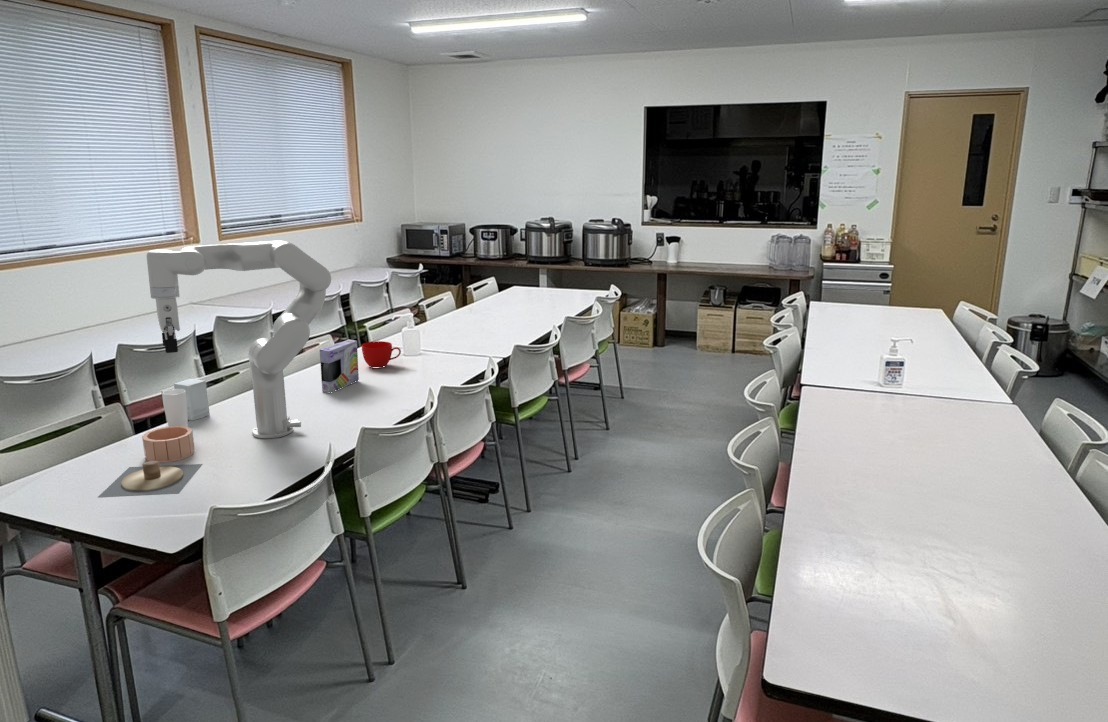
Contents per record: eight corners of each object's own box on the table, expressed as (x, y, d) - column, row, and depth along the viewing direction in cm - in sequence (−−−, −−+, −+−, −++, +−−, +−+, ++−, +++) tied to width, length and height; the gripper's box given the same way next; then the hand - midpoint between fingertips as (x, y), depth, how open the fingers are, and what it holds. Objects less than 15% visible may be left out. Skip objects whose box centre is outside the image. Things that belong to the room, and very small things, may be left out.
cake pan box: (330, 394, 278) (326, 350, 273) (319, 393, 279) (316, 349, 275) (360, 381, 295) (358, 339, 290) (350, 380, 297) (347, 338, 292)
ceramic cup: (398, 370, 312) (397, 348, 309) (359, 370, 312) (358, 347, 309) (404, 363, 324) (403, 341, 322) (367, 362, 324) (366, 341, 322)
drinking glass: (181, 440, 229) (175, 395, 225) (162, 438, 230) (157, 393, 227) (195, 433, 236) (190, 389, 232) (177, 431, 237) (172, 387, 233)
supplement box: (210, 414, 253) (206, 380, 250) (192, 421, 247) (188, 386, 243) (195, 411, 256) (191, 377, 253) (177, 417, 250) (173, 383, 246)
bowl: (200, 446, 224) (197, 425, 222) (185, 462, 212) (183, 440, 210) (155, 448, 222) (152, 426, 221) (138, 464, 210) (135, 442, 208)
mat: (202, 465, 210) (202, 463, 210) (178, 494, 191) (178, 493, 191) (129, 468, 207) (129, 467, 207) (97, 498, 188) (97, 497, 188)
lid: (190, 467, 207) (188, 452, 206) (172, 489, 193) (169, 473, 192) (135, 470, 205) (132, 454, 204) (112, 492, 191) (109, 475, 190)
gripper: (181, 296, 206) (187, 353, 210) (176, 287, 220) (181, 341, 224) (152, 297, 202) (158, 356, 206) (148, 288, 216) (154, 344, 221)
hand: (170, 348), depth 215 cm, fingers open, 9 cm apart
